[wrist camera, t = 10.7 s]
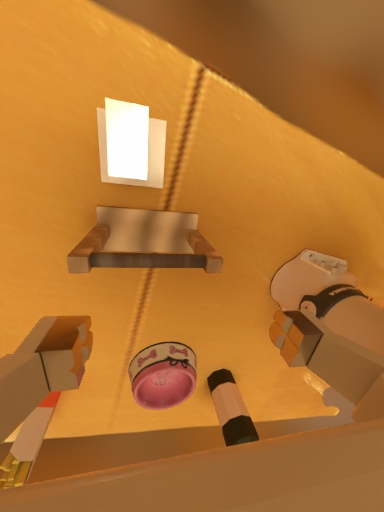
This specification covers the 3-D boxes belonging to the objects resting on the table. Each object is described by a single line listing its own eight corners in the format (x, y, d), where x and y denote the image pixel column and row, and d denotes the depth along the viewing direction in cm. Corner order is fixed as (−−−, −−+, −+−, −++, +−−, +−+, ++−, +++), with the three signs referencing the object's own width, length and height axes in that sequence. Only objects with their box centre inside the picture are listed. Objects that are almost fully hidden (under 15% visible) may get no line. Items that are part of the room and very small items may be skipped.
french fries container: (35, 406, 48) (-21, 524, 32) (43, 376, 45) (-14, 491, 29) (55, 406, 49) (12, 519, 33) (65, 378, 46) (22, 487, 30)
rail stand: (197, 213, 37) (227, 237, 23) (192, 250, 40) (216, 291, 26) (97, 205, 33) (62, 229, 19) (100, 248, 36) (72, 296, 22)
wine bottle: (235, 368, 60) (307, 527, 33) (226, 386, 63) (287, 545, 36) (211, 369, 57) (268, 541, 31) (203, 387, 60) (250, 559, 33)
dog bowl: (117, 384, 52) (114, 412, 46) (146, 334, 47) (146, 358, 41) (177, 391, 58) (181, 416, 52) (207, 348, 54) (215, 370, 48)
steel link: (147, 130, 30) (148, 106, 19) (146, 177, 32) (146, 180, 21) (120, 125, 29) (105, 97, 18) (121, 174, 31) (108, 175, 20)
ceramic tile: (166, 122, 30) (166, 121, 30) (162, 188, 34) (162, 188, 33) (97, 109, 28) (96, 107, 27) (102, 181, 32) (101, 181, 31)
